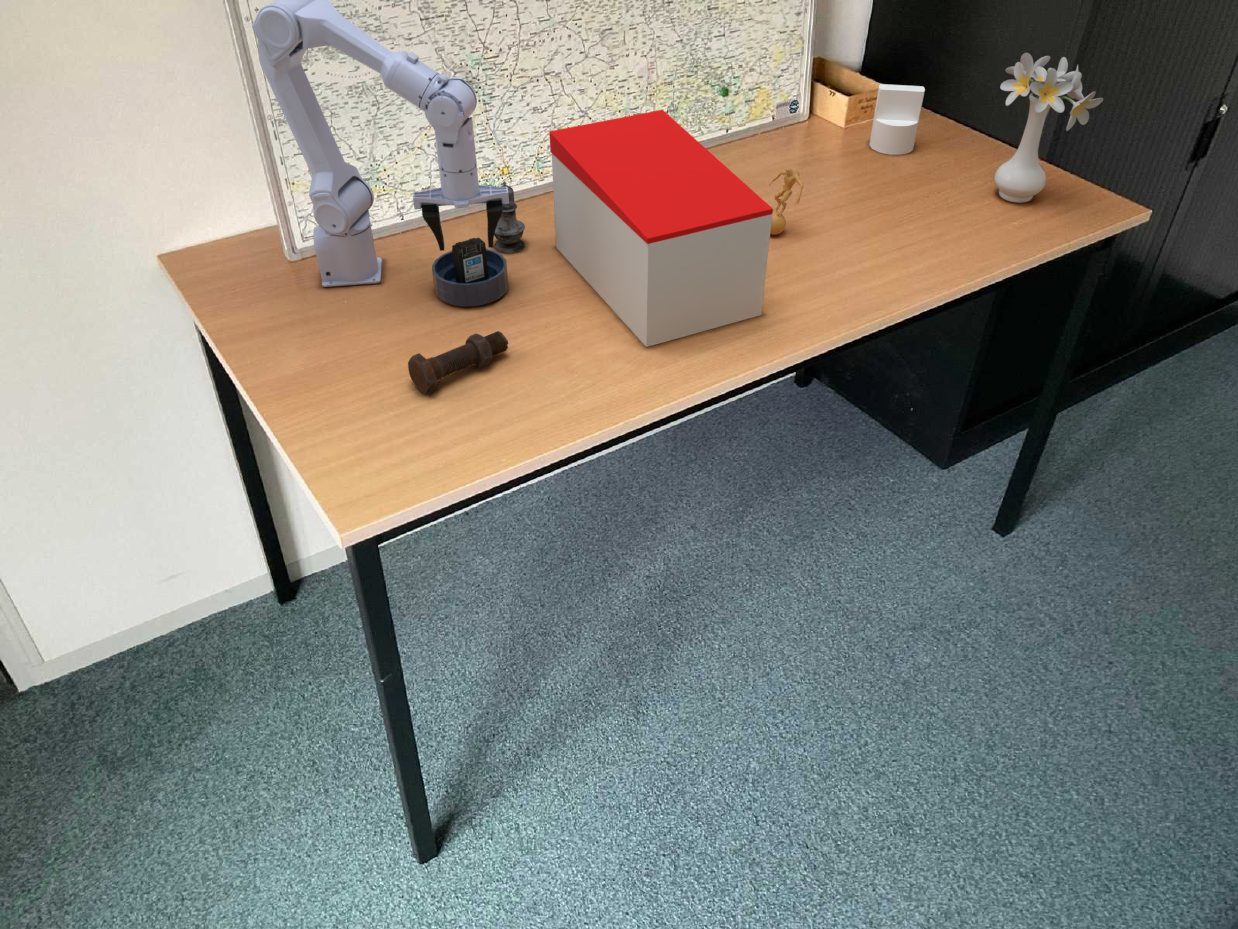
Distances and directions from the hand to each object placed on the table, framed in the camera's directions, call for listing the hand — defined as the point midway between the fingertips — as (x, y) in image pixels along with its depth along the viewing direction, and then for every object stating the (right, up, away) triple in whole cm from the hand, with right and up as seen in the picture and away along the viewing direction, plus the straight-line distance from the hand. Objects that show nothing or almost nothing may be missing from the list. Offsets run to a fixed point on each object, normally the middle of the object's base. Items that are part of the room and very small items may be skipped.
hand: (466, 245), depth 160 cm
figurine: (+53, +7, +20) cm, 57 cm away
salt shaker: (+5, +4, +16) cm, 18 cm away
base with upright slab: (+81, +31, +48) cm, 99 cm away
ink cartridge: (0, -6, +5) cm, 8 cm away
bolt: (+2, -21, -12) cm, 25 cm away
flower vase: (+100, +16, +30) cm, 106 cm away
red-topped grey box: (+30, -4, +8) cm, 31 cm away
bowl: (0, -6, +5) cm, 8 cm away
